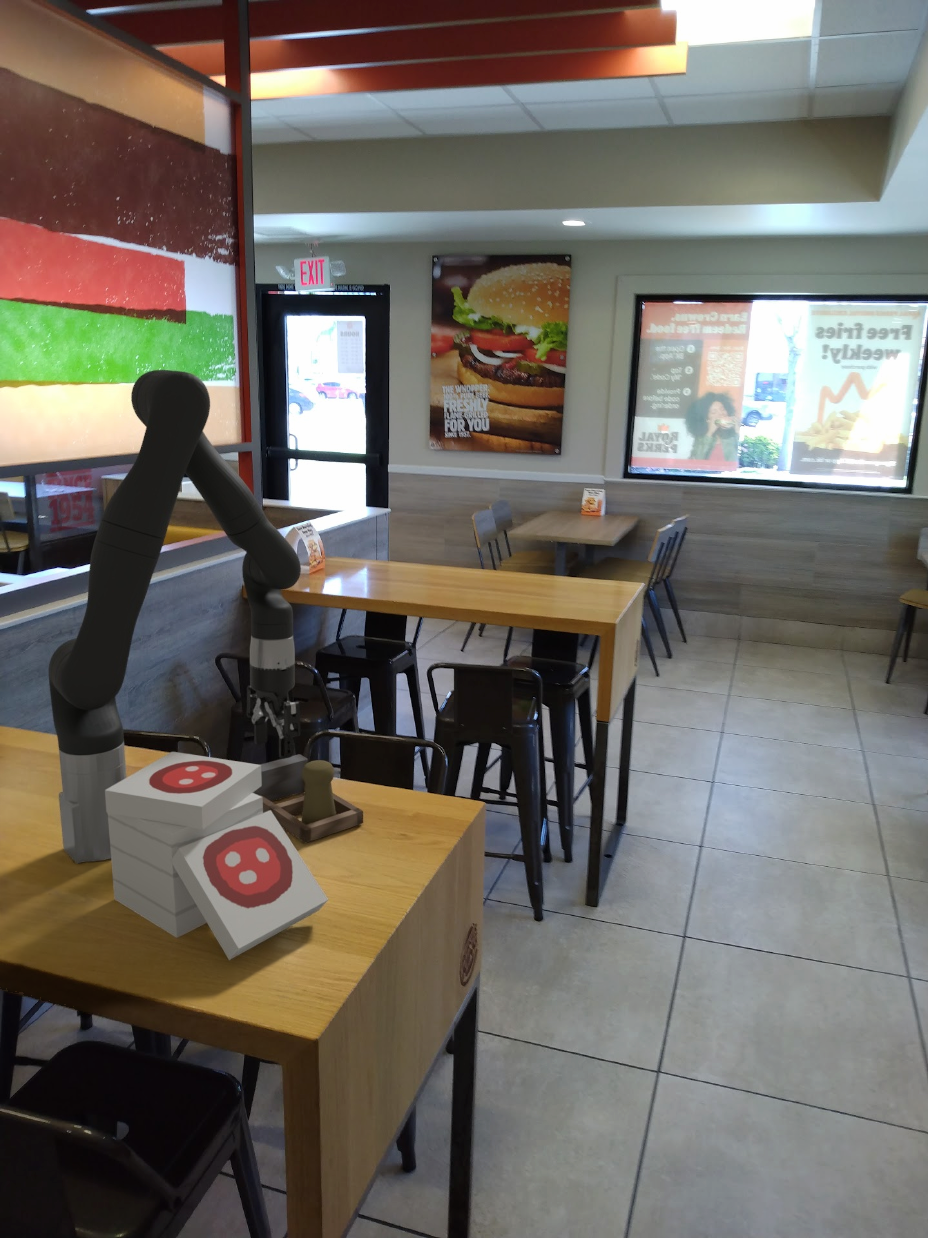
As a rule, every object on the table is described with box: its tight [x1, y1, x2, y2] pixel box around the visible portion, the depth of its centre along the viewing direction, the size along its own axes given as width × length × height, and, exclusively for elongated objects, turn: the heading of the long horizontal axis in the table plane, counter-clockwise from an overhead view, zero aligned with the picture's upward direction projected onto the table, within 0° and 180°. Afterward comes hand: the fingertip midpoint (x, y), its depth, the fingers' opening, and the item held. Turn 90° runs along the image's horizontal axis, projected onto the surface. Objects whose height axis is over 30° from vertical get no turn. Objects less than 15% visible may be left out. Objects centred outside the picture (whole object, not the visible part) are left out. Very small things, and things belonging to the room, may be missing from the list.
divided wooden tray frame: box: [253, 753, 364, 844], centre depth 157 cm, size 11×20×6 cm, turn 41°
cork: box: [300, 759, 337, 825], centre depth 152 cm, size 6×6×11 cm
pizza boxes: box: [105, 751, 329, 961], centre depth 126 cm, size 19×30×18 cm, turn 51°
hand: (273, 750), depth 162 cm, fingers open, 8 cm apart
